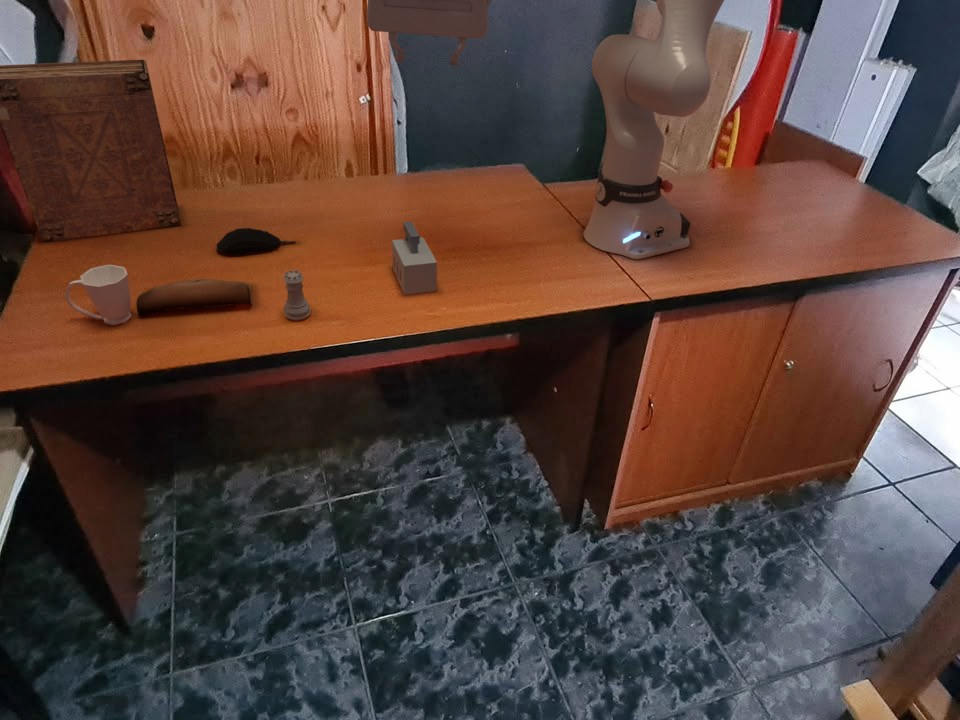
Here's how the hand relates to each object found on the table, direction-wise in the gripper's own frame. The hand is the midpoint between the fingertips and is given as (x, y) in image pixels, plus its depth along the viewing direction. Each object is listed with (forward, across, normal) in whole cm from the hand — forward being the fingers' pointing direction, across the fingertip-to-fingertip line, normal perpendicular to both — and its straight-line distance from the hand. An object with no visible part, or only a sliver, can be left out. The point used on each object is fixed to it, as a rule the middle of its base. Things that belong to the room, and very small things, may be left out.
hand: (427, 62), depth 119 cm
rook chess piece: (+36, +20, +27) cm, 49 cm away
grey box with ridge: (+35, +1, +14) cm, 38 cm away
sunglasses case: (+36, +37, +25) cm, 57 cm away
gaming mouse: (+36, +32, +4) cm, 48 cm away
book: (+36, +63, -2) cm, 73 cm away
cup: (+36, +50, +31) cm, 69 cm away
